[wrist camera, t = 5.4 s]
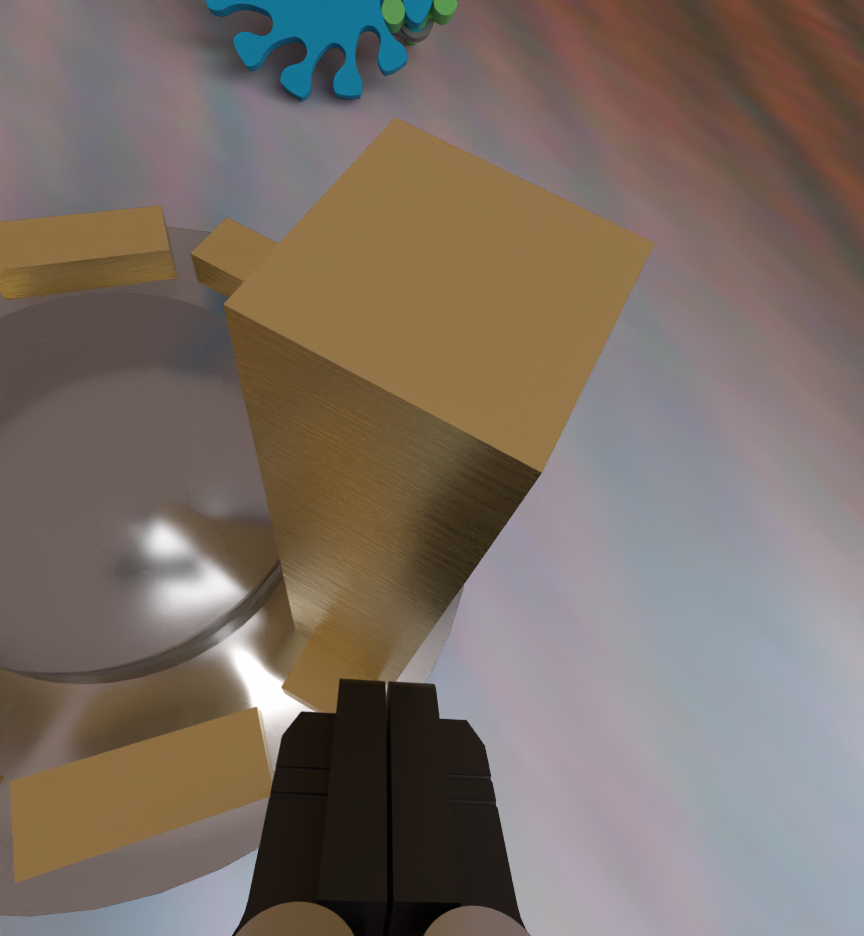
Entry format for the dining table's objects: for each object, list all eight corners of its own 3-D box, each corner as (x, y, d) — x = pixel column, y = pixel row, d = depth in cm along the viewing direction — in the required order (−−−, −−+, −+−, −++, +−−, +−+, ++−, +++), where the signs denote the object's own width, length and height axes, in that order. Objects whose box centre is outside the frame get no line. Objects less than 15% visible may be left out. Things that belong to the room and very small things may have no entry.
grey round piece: (388, 262, 26) (400, 155, 21) (545, 760, 19) (612, 754, 14) (-180, 322, 21) (-316, 201, 17) (-272, 1020, 14) (-556, 1135, 9)
